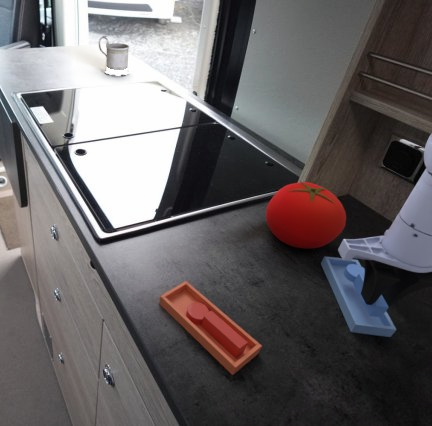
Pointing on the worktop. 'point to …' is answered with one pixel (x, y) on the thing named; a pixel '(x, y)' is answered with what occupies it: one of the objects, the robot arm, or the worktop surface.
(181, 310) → the orange tray
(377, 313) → the blue spoon
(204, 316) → the red spoon
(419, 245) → the robot arm
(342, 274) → the blue rest
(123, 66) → the mug
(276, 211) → the tomato
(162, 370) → the worktop surface
